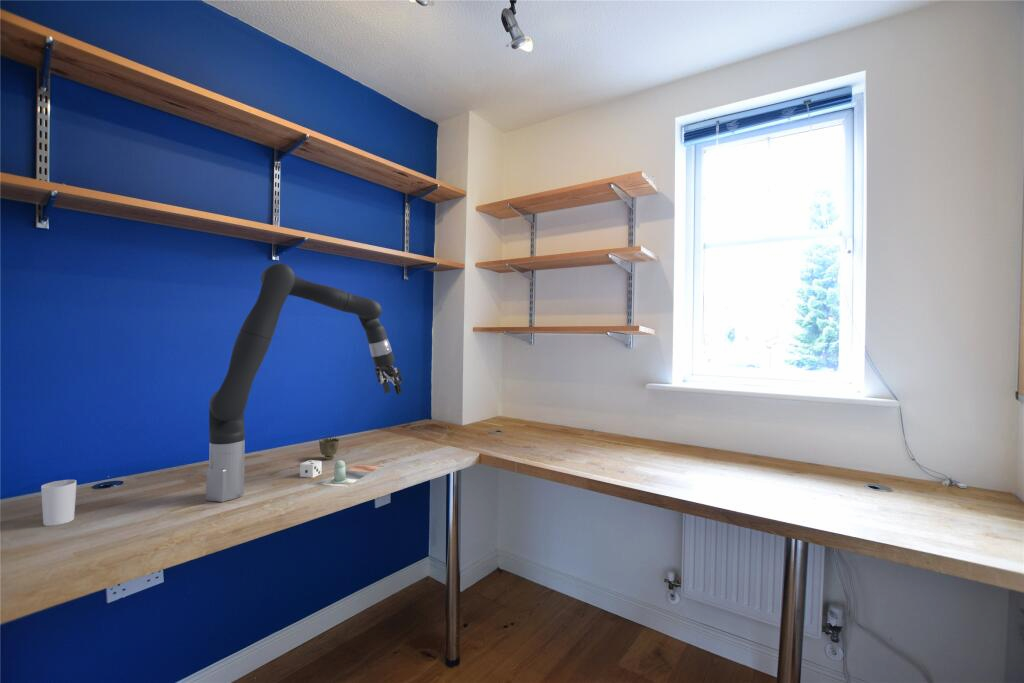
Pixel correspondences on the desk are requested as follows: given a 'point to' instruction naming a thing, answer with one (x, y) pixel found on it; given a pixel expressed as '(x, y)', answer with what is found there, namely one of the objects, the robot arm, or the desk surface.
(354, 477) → the game strip
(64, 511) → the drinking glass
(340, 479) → the pawn
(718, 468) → the desk surface
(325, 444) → the cup
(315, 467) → the die
